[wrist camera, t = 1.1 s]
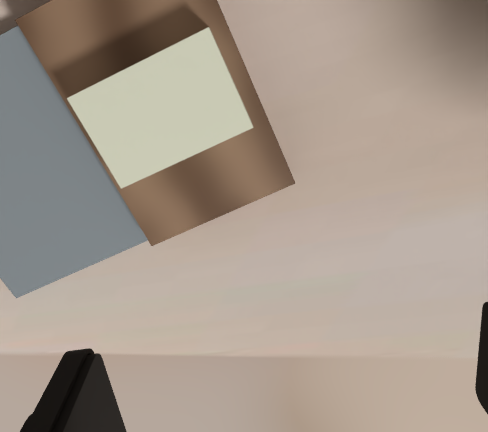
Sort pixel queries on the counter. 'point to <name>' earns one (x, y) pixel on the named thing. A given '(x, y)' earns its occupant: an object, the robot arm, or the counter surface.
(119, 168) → the sage tile
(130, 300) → the counter surface
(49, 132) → the slate mat
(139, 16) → the walnut deck
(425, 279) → the counter surface
